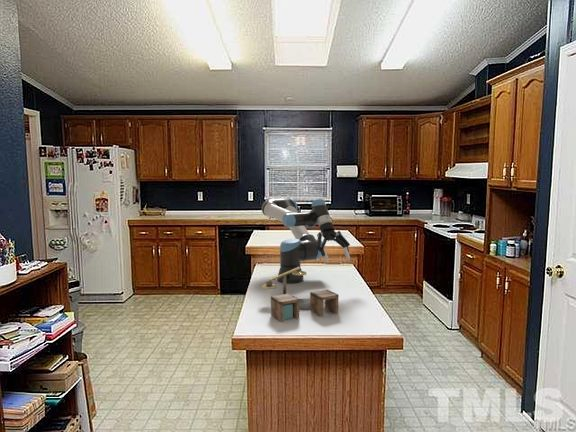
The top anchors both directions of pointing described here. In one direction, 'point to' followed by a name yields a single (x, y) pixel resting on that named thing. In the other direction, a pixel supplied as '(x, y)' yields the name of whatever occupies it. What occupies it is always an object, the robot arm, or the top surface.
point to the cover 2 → (318, 298)
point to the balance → (273, 286)
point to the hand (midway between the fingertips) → (338, 260)
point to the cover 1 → (278, 304)
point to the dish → (304, 304)
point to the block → (287, 311)
